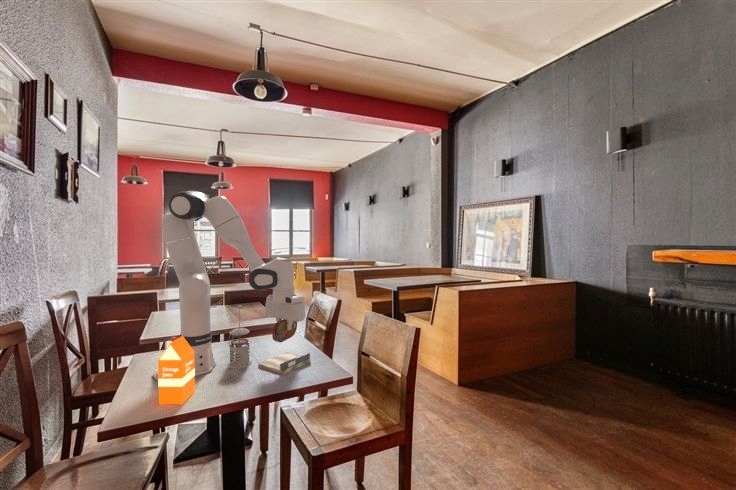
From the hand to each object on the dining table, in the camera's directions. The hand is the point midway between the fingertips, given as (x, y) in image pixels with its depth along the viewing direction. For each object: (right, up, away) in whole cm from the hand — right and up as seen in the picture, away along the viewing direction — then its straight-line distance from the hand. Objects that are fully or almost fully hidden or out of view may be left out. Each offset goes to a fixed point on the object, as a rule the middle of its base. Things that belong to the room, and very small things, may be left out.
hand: (284, 329), depth 148 cm
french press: (-20, -15, +1) cm, 25 cm away
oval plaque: (-1, -4, +1) cm, 4 cm away
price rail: (+5, -14, -3) cm, 15 cm away
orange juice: (-29, -16, -30) cm, 45 cm away
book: (0, -15, 0) cm, 15 cm away
